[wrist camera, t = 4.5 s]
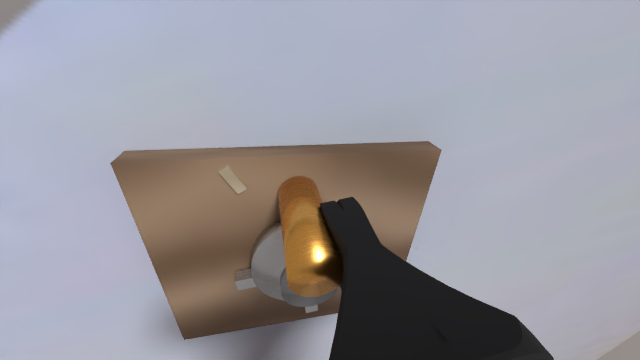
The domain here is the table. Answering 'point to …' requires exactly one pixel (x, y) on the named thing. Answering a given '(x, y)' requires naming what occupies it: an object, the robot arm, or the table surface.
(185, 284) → the walnut base
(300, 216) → the dial
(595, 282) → the table surface
